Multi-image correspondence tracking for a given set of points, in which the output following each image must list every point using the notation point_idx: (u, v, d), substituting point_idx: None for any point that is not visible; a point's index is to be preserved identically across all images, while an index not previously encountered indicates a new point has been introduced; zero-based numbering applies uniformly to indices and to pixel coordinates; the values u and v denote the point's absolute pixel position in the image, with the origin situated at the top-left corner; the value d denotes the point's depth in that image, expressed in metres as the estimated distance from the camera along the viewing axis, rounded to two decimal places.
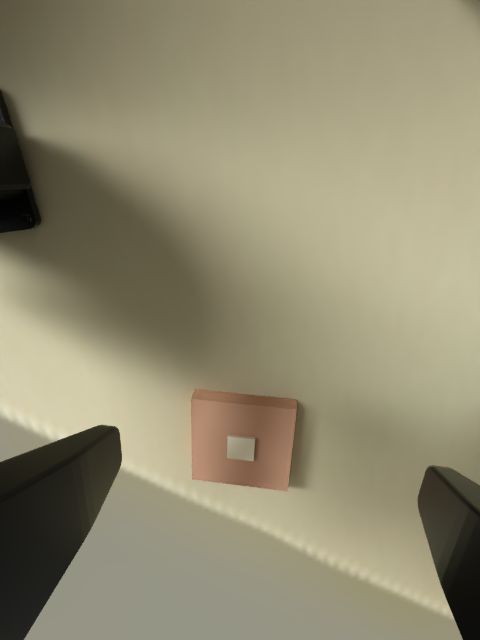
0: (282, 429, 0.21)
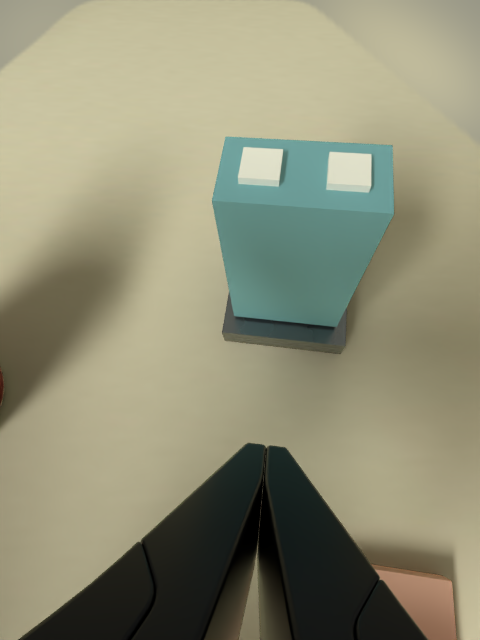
0: None
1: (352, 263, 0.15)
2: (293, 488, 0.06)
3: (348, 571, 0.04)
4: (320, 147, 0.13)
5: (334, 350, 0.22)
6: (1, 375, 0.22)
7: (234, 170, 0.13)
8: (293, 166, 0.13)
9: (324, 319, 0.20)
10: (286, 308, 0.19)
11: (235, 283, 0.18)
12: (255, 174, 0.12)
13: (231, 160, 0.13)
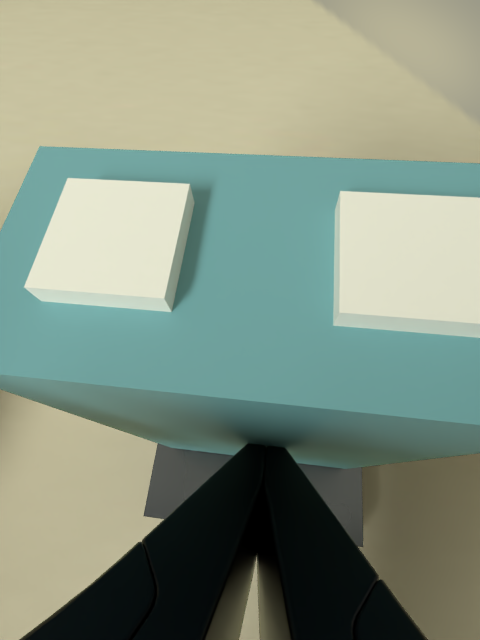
0: None
1: (397, 454, 0.06)
2: (293, 487, 0.06)
3: (347, 571, 0.04)
4: (309, 175, 0.04)
5: None
6: None
7: (38, 251, 0.04)
8: (225, 237, 0.04)
9: (325, 465, 0.11)
10: None
11: (148, 436, 0.09)
12: (86, 274, 0.04)
13: (38, 218, 0.04)
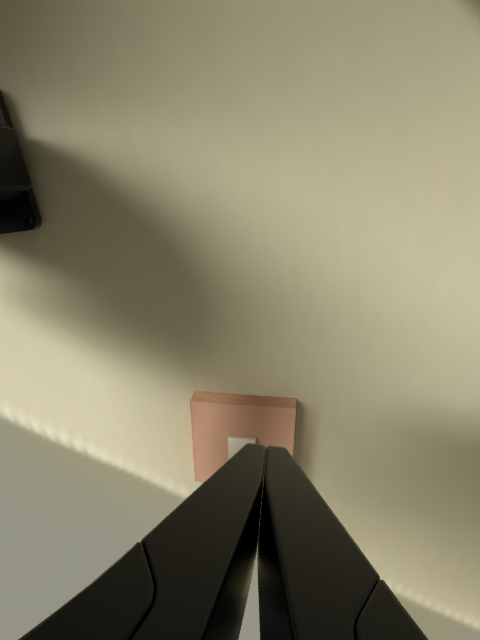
0: (282, 429, 0.21)
1: None
2: (294, 487, 0.06)
3: (348, 571, 0.04)
4: None
5: None
6: None
7: None
8: None
9: None
10: None
11: None
12: None
13: None
